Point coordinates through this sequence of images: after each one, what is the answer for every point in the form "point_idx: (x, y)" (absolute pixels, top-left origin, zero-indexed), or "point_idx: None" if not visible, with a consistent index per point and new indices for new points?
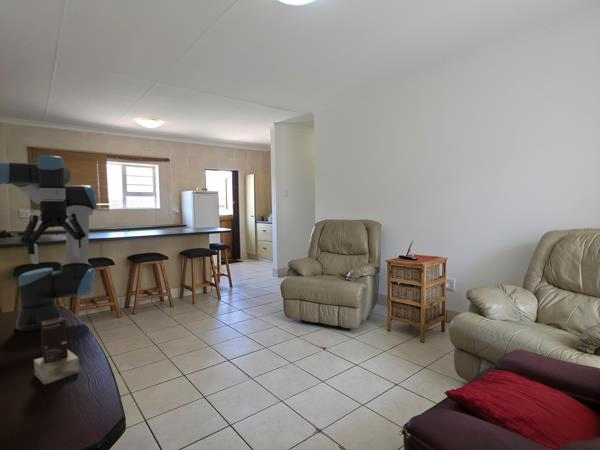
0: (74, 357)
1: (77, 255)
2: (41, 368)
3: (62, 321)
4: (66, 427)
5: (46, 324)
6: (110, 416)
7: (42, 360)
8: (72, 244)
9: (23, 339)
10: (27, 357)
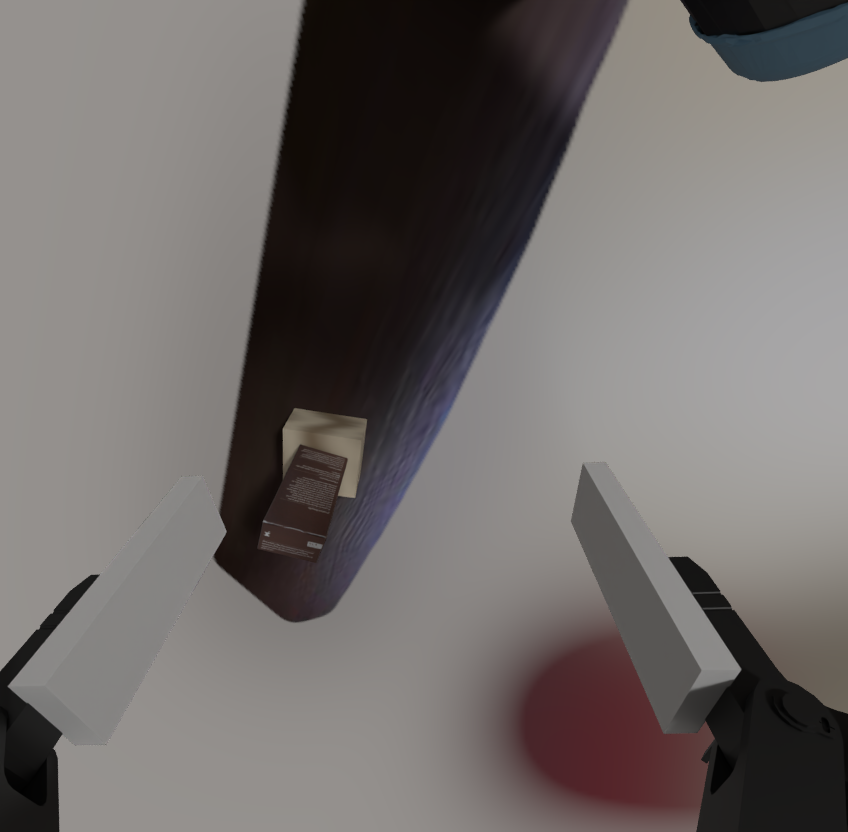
0: (349, 491)
1: (578, 536)
2: (283, 476)
3: (308, 560)
4: (276, 584)
5: (268, 549)
6: (324, 603)
7: (296, 448)
8: (652, 590)
9: (361, 57)
10: (313, 285)
